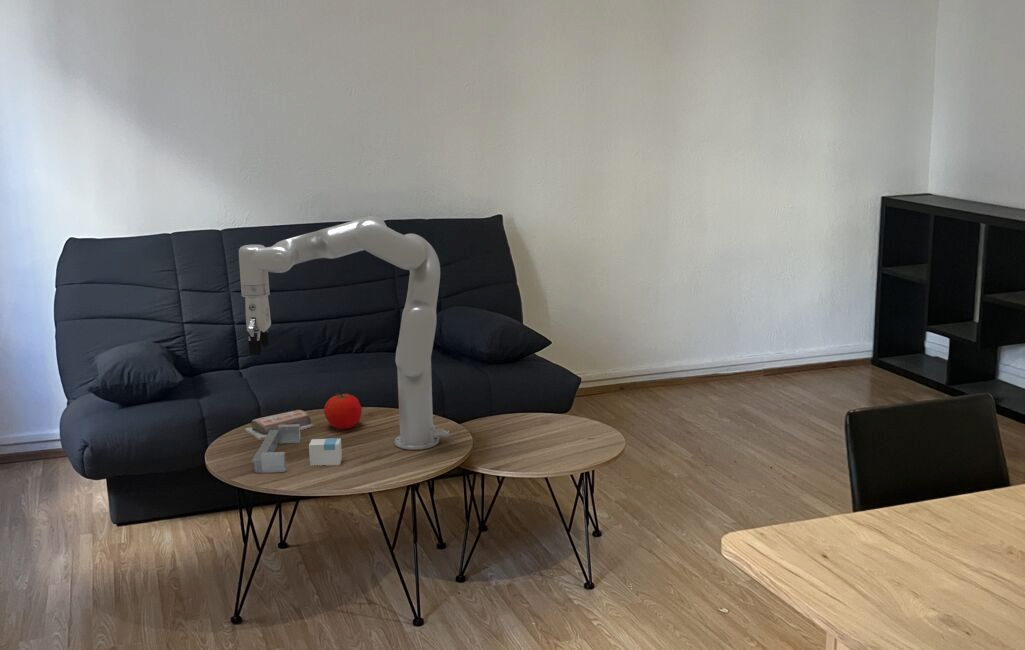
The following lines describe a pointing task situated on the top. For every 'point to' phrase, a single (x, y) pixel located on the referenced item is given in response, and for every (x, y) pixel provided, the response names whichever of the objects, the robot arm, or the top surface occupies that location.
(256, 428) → the packaged product
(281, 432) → the rail
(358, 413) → the tomato
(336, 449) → the block
